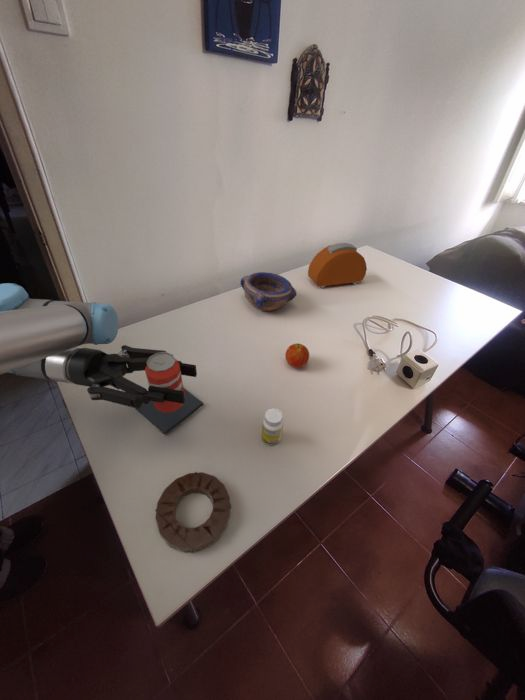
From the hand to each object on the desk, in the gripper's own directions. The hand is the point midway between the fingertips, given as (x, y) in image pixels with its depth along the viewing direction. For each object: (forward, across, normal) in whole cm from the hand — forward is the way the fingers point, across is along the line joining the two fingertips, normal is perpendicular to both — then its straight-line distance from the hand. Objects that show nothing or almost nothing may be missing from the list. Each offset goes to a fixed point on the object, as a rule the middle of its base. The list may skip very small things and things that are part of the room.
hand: (189, 383), depth 61 cm
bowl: (+7, -61, -19) cm, 64 cm away
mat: (-10, -7, -18) cm, 22 cm away
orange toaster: (+33, -86, -19) cm, 94 cm away
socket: (+5, +16, -18) cm, 25 cm away
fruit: (+21, -30, -19) cm, 41 cm away
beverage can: (-5, 0, -7) cm, 9 cm away
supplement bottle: (+17, -4, -18) cm, 25 cm away
